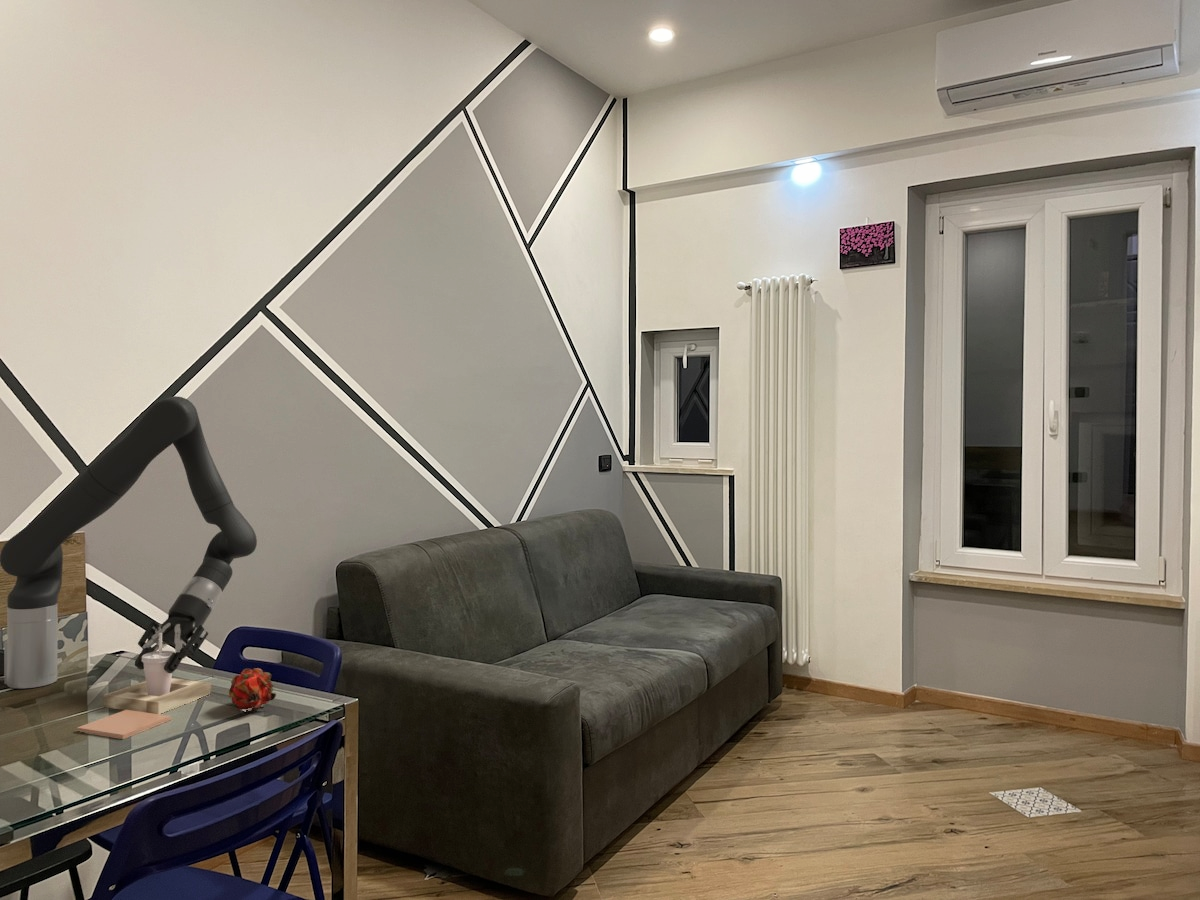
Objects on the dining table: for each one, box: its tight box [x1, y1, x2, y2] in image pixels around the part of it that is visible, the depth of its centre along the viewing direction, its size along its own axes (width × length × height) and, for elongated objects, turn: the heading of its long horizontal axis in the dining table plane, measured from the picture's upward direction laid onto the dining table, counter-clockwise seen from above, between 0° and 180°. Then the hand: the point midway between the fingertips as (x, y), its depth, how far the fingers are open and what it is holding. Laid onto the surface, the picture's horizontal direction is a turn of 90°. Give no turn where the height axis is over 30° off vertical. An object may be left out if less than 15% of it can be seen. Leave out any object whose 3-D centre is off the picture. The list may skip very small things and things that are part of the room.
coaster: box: [76, 710, 172, 740], centre depth 163 cm, size 11×11×1 cm
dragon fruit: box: [228, 667, 277, 712], centre depth 174 cm, size 8×8×12 cm
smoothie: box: [141, 633, 176, 696], centre depth 178 cm, size 6×6×14 cm
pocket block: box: [103, 677, 212, 715], centre depth 178 cm, size 14×14×2 cm
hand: (152, 669), depth 176 cm, fingers open, 7 cm apart
